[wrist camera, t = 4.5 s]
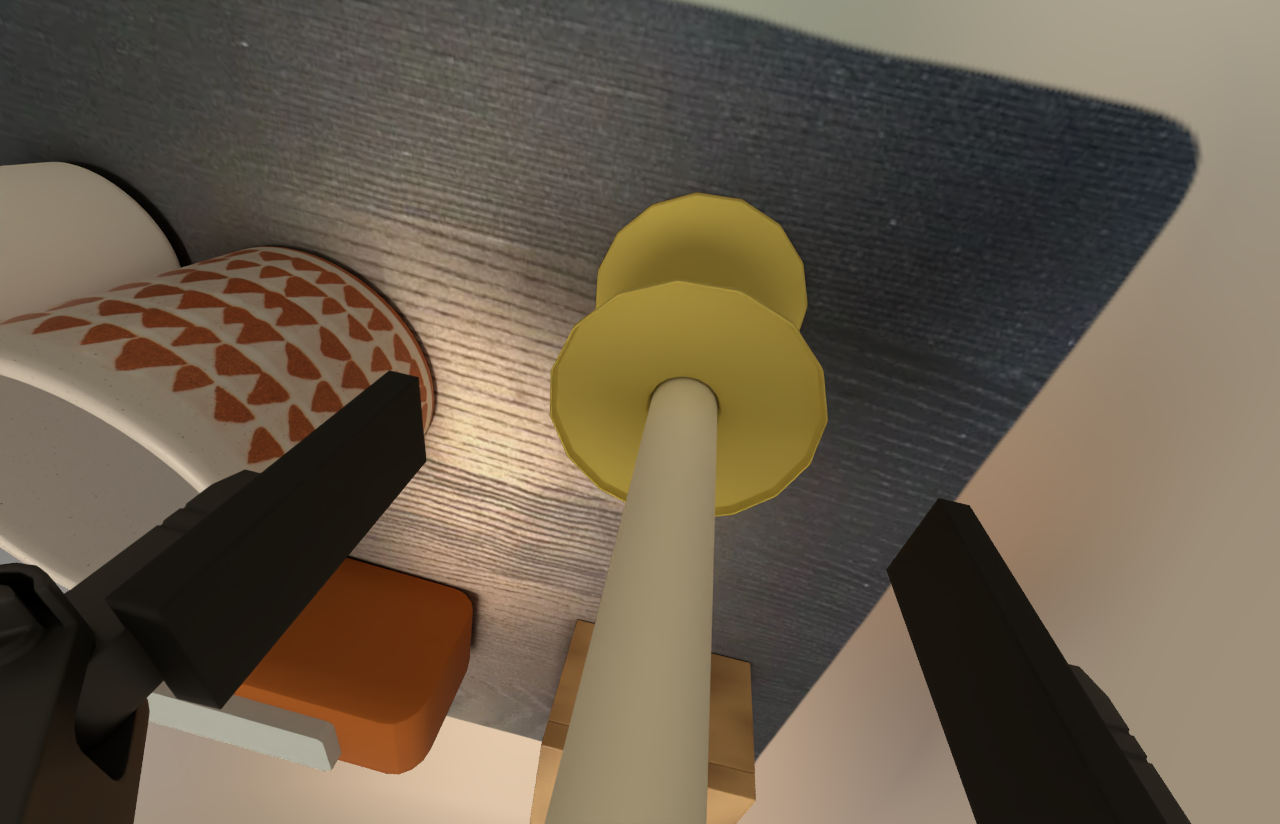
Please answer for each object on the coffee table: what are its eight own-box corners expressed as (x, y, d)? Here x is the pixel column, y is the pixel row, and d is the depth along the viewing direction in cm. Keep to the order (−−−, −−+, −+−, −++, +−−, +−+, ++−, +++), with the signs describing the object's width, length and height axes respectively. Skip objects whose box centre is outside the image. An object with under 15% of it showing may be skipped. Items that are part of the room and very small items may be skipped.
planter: (288, 186, 23) (-93, 257, 12) (485, 401, 28) (337, 583, 17) (169, 327, 28) (-162, 459, 18) (351, 484, 33) (178, 660, 23)
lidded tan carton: (750, 662, 38) (756, 801, 30) (699, 749, 46) (694, 873, 39) (577, 619, 38) (541, 745, 31) (560, 713, 47) (528, 829, 39)
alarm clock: (217, 575, 43) (73, 708, 33) (191, 510, 38) (13, 644, 29) (477, 649, 43) (406, 803, 33) (482, 594, 38) (401, 755, 29)
